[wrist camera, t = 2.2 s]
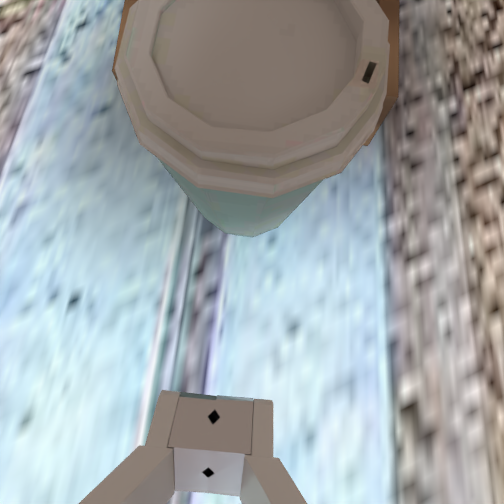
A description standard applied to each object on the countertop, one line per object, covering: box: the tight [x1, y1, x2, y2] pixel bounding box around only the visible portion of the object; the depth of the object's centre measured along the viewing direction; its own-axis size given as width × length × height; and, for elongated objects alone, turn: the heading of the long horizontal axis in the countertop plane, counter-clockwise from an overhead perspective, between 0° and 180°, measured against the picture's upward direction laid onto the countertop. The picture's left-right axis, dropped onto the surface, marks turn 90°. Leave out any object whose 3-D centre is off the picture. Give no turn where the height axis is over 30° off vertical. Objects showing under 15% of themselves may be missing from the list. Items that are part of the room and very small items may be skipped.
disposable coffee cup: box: [115, 0, 390, 237], centre depth 22 cm, size 11×11×15 cm
